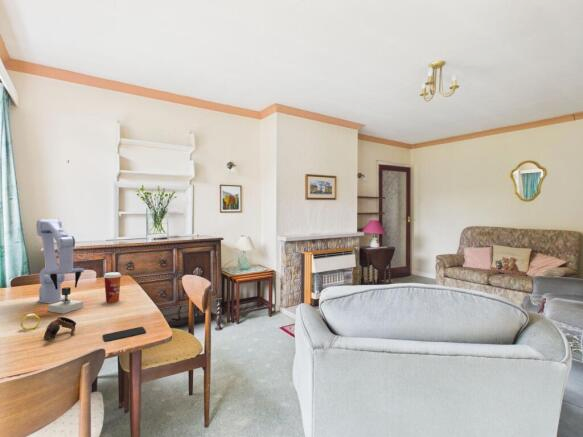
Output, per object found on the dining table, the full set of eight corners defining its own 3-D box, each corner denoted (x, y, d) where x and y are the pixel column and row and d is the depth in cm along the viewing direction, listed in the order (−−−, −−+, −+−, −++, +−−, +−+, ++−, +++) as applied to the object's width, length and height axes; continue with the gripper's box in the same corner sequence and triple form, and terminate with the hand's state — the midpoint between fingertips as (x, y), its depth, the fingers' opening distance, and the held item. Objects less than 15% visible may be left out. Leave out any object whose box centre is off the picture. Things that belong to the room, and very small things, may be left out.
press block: (48, 311, 148) (48, 305, 148) (68, 304, 158) (68, 299, 158) (63, 313, 145) (63, 307, 145) (83, 307, 155) (83, 301, 155)
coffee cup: (113, 303, 161) (113, 275, 161) (100, 302, 163) (99, 274, 162) (124, 299, 169) (124, 272, 169) (112, 297, 171) (112, 271, 170)
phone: (102, 334, 123) (142, 326, 132) (102, 336, 123) (142, 328, 132) (104, 341, 117) (146, 331, 126) (104, 343, 117) (146, 333, 126)
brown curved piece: (48, 333, 125) (61, 314, 127) (71, 343, 126) (83, 323, 128) (31, 338, 113) (45, 317, 116) (56, 348, 114) (69, 327, 117)
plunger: (59, 302, 150) (59, 288, 150) (67, 300, 154) (66, 287, 153) (65, 303, 149) (65, 289, 149) (72, 301, 153) (72, 287, 152)
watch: (39, 326, 131) (40, 312, 131) (39, 328, 129) (40, 314, 129) (20, 328, 127) (22, 314, 127) (20, 330, 125) (21, 316, 125)
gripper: (46, 263, 144) (46, 292, 144) (83, 260, 152) (84, 287, 152) (47, 261, 149) (48, 288, 150) (83, 258, 158) (84, 284, 158)
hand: (66, 288), depth 151 cm, fingers open, 7 cm apart
